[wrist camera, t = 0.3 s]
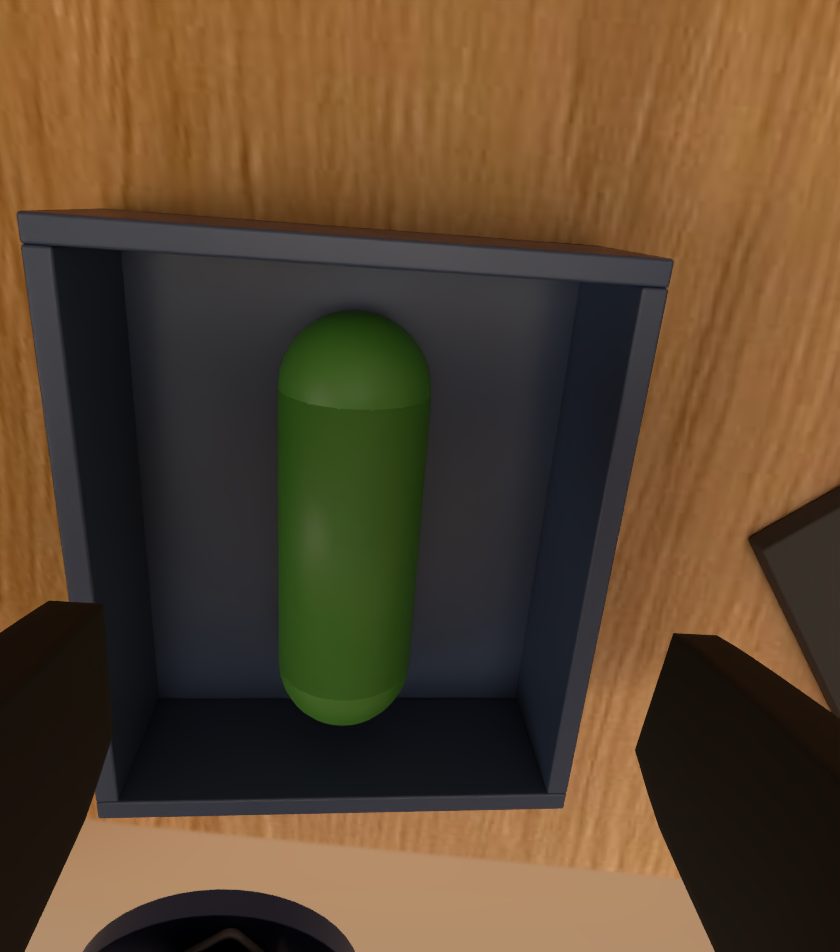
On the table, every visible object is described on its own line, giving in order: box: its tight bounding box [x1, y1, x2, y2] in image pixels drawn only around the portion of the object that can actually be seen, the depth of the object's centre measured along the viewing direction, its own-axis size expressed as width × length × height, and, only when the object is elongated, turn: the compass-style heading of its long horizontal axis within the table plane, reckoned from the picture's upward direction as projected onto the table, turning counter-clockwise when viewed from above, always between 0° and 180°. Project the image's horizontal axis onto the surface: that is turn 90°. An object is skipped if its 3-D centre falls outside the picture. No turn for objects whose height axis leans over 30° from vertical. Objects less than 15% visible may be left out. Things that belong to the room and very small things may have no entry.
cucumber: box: [278, 310, 431, 726], centre depth 15 cm, size 10×3×3 cm, turn 176°
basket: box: [17, 209, 674, 818], centre depth 16 cm, size 13×11×4 cm
